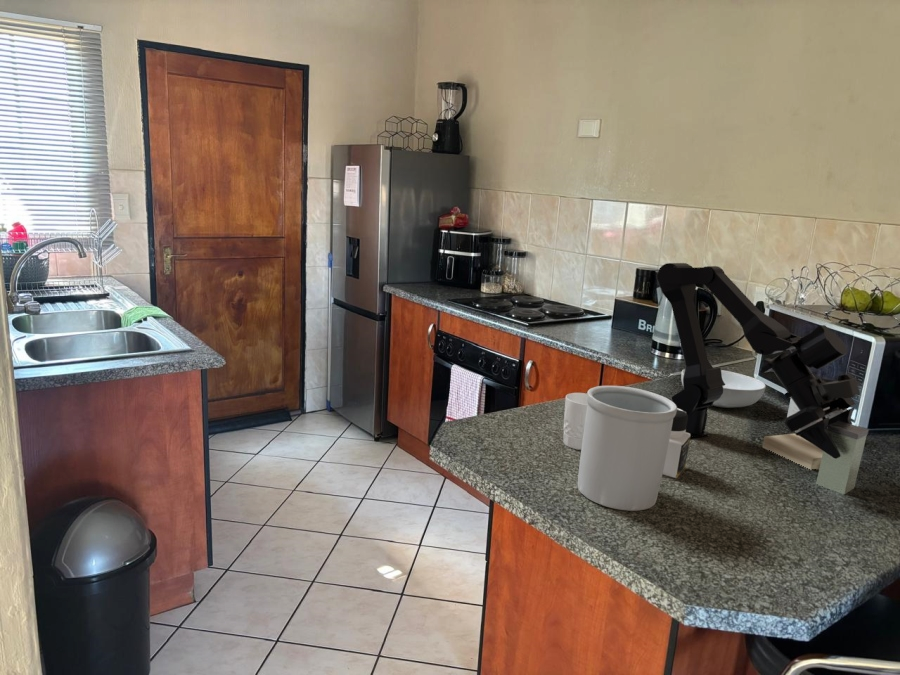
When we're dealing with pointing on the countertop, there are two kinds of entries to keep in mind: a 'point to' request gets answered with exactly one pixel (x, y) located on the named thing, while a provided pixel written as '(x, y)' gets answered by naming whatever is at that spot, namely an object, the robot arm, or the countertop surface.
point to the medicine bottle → (677, 446)
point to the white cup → (574, 419)
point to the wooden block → (795, 449)
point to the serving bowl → (738, 390)
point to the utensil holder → (624, 446)
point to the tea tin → (842, 457)
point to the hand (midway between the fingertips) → (847, 452)
